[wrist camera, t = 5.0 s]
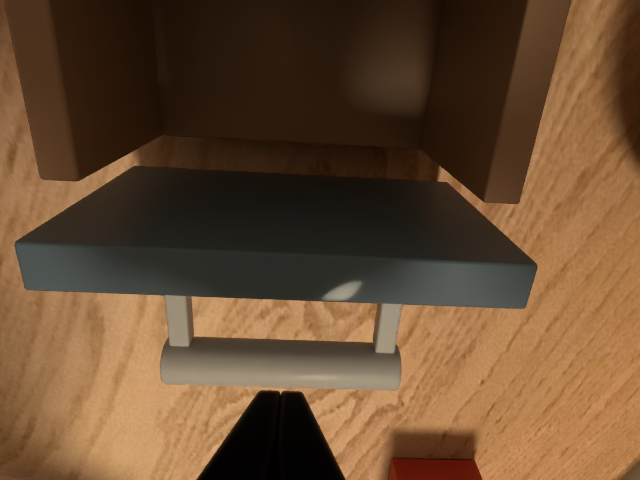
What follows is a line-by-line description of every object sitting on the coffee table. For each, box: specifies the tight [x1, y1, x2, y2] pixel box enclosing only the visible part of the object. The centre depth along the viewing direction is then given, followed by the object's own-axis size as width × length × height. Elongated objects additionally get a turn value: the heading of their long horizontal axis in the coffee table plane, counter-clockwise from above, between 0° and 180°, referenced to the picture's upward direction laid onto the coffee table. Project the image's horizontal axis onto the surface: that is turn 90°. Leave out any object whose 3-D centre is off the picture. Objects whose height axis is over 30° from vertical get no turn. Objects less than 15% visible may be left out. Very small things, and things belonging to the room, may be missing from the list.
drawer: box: [4, 0, 571, 391], centre depth 11 cm, size 18×11×7 cm, turn 177°
